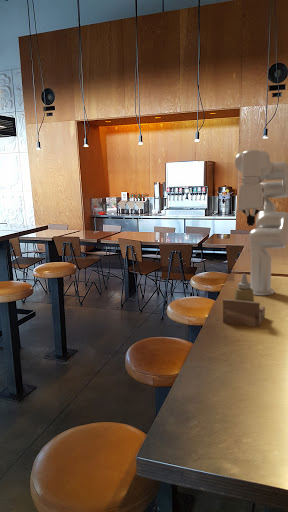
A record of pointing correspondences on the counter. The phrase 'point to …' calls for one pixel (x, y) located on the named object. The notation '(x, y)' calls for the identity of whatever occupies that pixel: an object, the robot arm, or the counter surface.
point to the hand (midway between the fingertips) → (250, 225)
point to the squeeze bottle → (244, 290)
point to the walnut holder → (243, 312)
